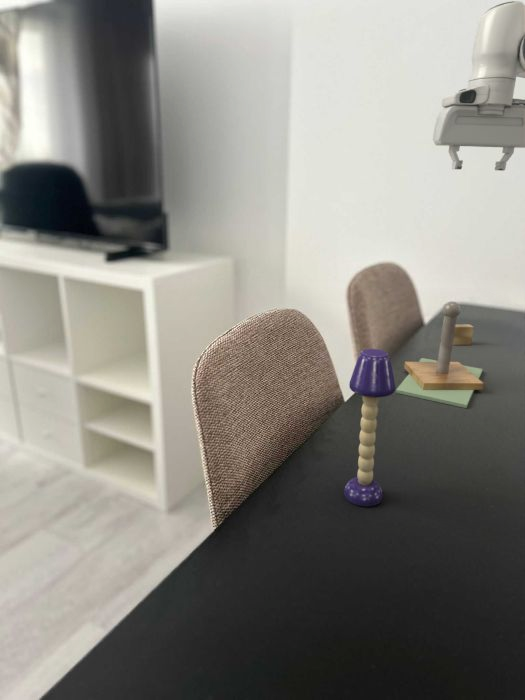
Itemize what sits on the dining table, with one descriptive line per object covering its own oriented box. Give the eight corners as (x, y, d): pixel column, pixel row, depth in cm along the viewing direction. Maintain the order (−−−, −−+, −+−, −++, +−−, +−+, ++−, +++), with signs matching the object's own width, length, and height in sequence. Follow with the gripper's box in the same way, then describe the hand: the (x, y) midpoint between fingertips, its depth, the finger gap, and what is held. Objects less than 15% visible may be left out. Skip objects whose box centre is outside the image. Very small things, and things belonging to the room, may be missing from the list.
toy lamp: (332, 492, 57) (342, 351, 52) (356, 476, 60) (369, 342, 55) (368, 512, 54) (383, 364, 48) (392, 494, 57) (409, 353, 52)
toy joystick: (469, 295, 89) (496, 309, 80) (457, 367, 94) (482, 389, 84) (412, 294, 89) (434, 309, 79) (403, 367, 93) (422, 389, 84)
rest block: (466, 342, 110) (469, 324, 109) (470, 345, 109) (473, 326, 107) (444, 342, 110) (446, 324, 109) (448, 345, 108) (450, 326, 107)
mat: (421, 360, 99) (421, 357, 98) (482, 372, 94) (482, 369, 93) (395, 392, 84) (396, 389, 84) (466, 408, 79) (467, 404, 79)
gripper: (529, 101, 108) (517, 171, 112) (434, 98, 106) (426, 168, 111) (547, 97, 102) (533, 171, 106) (447, 93, 100) (437, 168, 105)
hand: (478, 170), depth 108 cm, fingers open, 8 cm apart
